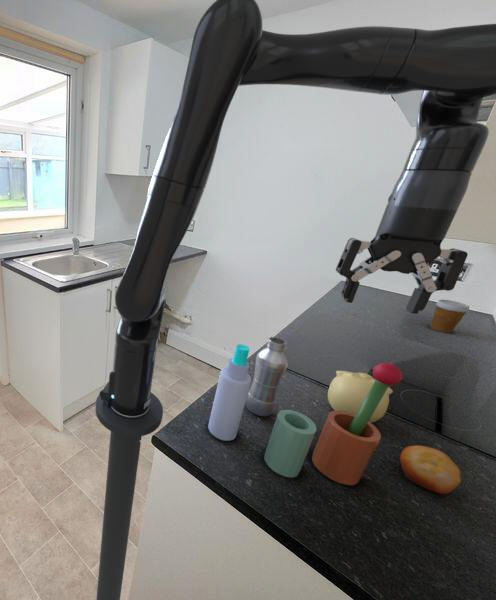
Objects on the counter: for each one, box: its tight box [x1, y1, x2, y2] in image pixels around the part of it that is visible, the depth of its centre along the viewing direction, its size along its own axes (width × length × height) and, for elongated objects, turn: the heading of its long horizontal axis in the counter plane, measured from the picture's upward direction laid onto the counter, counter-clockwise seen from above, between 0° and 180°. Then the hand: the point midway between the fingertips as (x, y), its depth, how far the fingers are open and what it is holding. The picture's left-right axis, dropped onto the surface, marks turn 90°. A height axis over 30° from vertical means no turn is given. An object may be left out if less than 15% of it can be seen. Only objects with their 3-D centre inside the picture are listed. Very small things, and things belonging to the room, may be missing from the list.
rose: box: [347, 362, 404, 436], centre depth 60 cm, size 4×4×23 cm
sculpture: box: [327, 370, 394, 424], centre depth 77 cm, size 11×12×11 cm
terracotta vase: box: [311, 410, 382, 486], centre depth 61 cm, size 8×8×11 cm
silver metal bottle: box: [245, 336, 289, 417], centre depth 74 cm, size 6×7×20 cm
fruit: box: [399, 444, 462, 495], centre depth 60 cm, size 8×8×8 cm
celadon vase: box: [263, 409, 317, 478], centre depth 61 cm, size 6×6×11 cm
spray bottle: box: [207, 344, 252, 442], centre depth 67 cm, size 6×6×22 cm
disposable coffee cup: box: [430, 299, 470, 334], centre depth 129 cm, size 10×10×12 cm
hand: (378, 306), depth 52 cm, fingers open, 8 cm apart
